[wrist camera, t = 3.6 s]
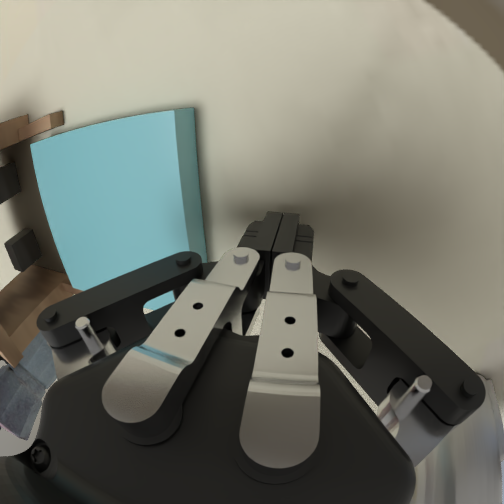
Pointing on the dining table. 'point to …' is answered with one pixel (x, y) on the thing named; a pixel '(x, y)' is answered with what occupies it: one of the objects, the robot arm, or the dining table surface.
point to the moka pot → (25, 387)
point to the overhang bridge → (25, 256)
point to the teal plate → (122, 195)
